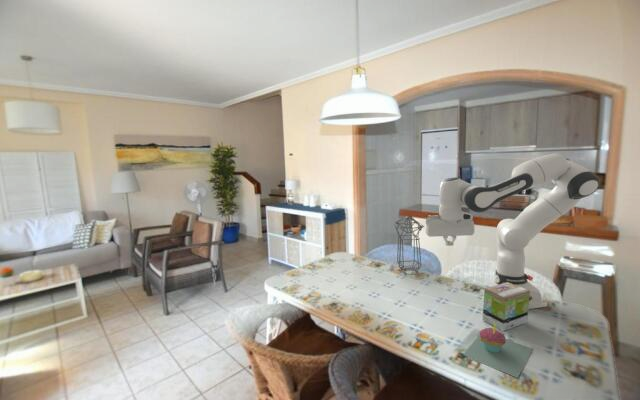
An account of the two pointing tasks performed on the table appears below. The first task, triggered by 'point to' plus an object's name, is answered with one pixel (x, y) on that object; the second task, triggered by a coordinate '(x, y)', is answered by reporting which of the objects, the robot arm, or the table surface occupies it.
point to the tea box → (506, 305)
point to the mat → (501, 356)
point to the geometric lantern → (408, 239)
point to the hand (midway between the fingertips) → (449, 245)
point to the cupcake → (492, 339)
